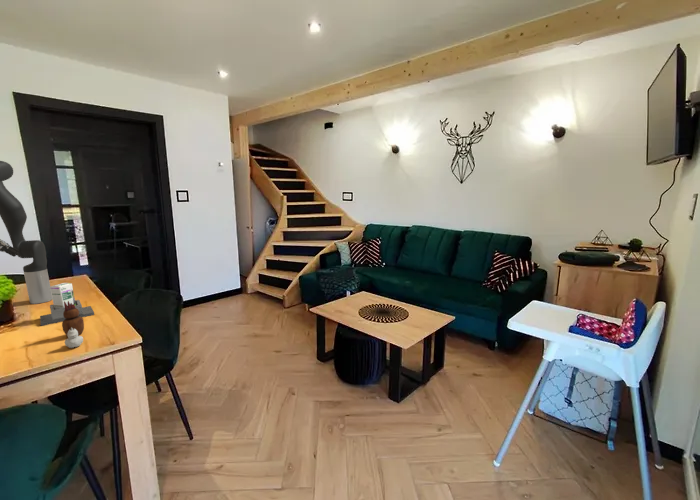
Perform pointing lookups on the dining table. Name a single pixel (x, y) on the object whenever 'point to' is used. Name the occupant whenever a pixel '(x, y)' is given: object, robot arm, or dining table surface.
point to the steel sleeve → (58, 314)
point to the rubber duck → (73, 339)
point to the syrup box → (62, 295)
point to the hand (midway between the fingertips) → (16, 253)
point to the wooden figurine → (72, 319)
